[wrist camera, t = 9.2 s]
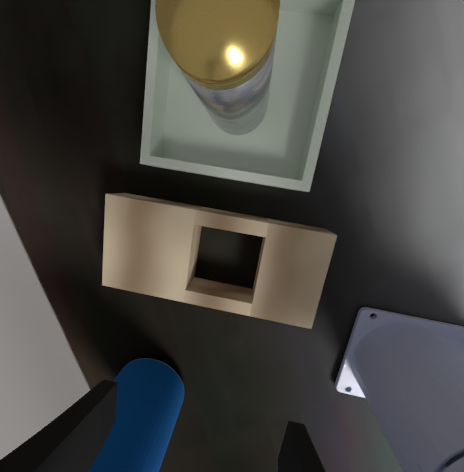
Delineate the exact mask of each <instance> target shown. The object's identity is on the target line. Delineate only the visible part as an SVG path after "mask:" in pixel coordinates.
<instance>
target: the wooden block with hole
mask: <svg viewBox="0 0 464 472" xmlns="http://www.w3.org/2000/svg"><path fill="white" fill-rule="evenodd" d="M201 226H206V227H211V228H217V229H222V230H227V231H233V232H238V233H244V234H249V235H255V236H260V237H263V241H262V246H261V251H260V256H259V260H258V265H257V270H256V275H255V280H254V285H253V289H251V288H246V287H241V286H236V285H231V284H226V283H221V282H216V281H211V280H206V279H201V278H196V277H195V269H196V262H197V255H198V248H199V240H200V233H201ZM336 239H337V235H336V234H334V233H332V232H331V231H329V230H327V229H325V228H319V227H314V226H308V225H303V224H297V223H291V222H286V221H280V220H274V219H269V218H263V217H258V216H252V215H246V214H241V213H235V212H229V211H224V210H218V209H213V208H207V207H201V206H196V205H190V204H185V203H179V202H173V201H168V200H162V199H156V198H151V197H145V196H140V195H134V194H128V193H113V194H105V219H104V246H103V273H102V285H103V286H108V287H113V288H118V289H123V290H127V291H132V292H137V293H142V294H146V295H151V296H156V297H161V298H166V299H170V300H175V301H180V302H185V303H189V304H194V305H199V306H204V307H209V308H213V309H218V310H223V311H228V312H233V313H237V314H242V315H247V316H252V317H256V318H261V319H266V320H271V321H276V322H280V323H285V324H290V325H295V326H299V327H304V328H309V329H312V325H313V321H314V318H315V314H316V311H317V307H318V303H319V300H320V296H321V293H322V289H323V285H324V282H325V278H326V275H327V271H328V267H329V264H330V260H331V257H332V253H333V249H334V246H335V242H336Z"/></svg>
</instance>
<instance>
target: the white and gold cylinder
mask: <svg viewBox="0 0 464 472" xmlns="http://www.w3.org/2000/svg"><path fill="white" fill-rule="evenodd" d="M279 9H280V0H155V13H156V22H157V26H158V30H159V34H160V37H161V39H162V41H163V43H164V46H165V47H166V49H167V51H168V52H169V54H170V55H171V57H172V58H173V60H174V61H175V63H176V64H177V66H178V68H179V69H180V71H181V72H182V74H183V75H184V77H185V78H186V80H187V81H188V83H189V84H190V86H191V87H192V89H193V90H194V92H195V93H196V95H197V96H198V98H199V99H200V101H201V103H202V104H203V106H204V107H205V109H206V110H207V112H208V113H209V115H210V116H211V118H212V119H213V121H214V122H215V124H216V125H217V126H218V127H219V128H220V129H221V130H222V131H224V132H226V133H228V134H231V135H244V134H247V133H249V132H251V131H253V130H254V129H256V128H257V127H258V126H259V125H260V123H261V122H262V120H263V119H264V117H265V114H266V111H267V106H268V98H269V90H270V82H271V74H272V66H273V58H274V50H275V42H276V34H277V26H278V18H279Z"/></svg>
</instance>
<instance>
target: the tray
mask: <svg viewBox="0 0 464 472" xmlns="http://www.w3.org/2000/svg"><path fill="white" fill-rule="evenodd" d="M354 3H355V0H280V9H279V18H278V26H277V34H276V42H275V50H274V58H273V66H272V74H271V82H270V90H269V98H268V106H267V111H266V114H265V117H264V119H263V120H262V122H261V123H260V125H259V126H258V127H257V128H256V129H254V130H253V131H251V132H249V133H247V134H244V135H231V134H228V133H226V132H224V131H222V130H221V129H220V128H219V127H218V126H217V125H216V124H215V122H214V121H213V119H212V118H211V116H210V115H209V113H208V112H207V110H206V109H205V107H204V106H203V104H202V103H201V101H200V99H199V98H198V96H197V95H196V93H195V92H194V90H193V89H192V87H191V86H190V84H189V83H188V81H187V80H186V78H185V77H184V75H183V74H182V72H181V71H180V69H179V68H178V66H177V64H176V63H175V61H174V60H173V58H172V57H171V55H170V54H169V52H168V51H167V49H166V47H165V46H164V43H163V41H162V39H161V37H160V34H159V30H158V26H157V22H156V13H155V0H151V11H150V26H149V40H148V54H147V69H146V83H145V98H144V112H143V127H142V141H141V155H140V164H144V165H149V166H153V167H159V168H165V169H171V170H176V171H182V172H188V173H194V174H200V175H206V176H212V177H218V178H224V179H230V180H236V181H242V182H248V183H254V184H260V185H266V186H272V187H278V188H284V189H290V190H296V191H301V192H310V188H311V184H312V180H313V175H314V171H315V167H316V163H317V159H318V154H319V150H320V146H321V142H322V138H323V133H324V129H325V125H326V121H327V117H328V112H329V108H330V104H331V100H332V96H333V91H334V87H335V83H336V79H337V75H338V70H339V66H340V62H341V58H342V54H343V49H344V45H345V41H346V37H347V33H348V28H349V24H350V20H351V16H352V12H353V7H354Z"/></svg>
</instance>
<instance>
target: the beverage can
mask: <svg viewBox="0 0 464 472" xmlns="http://www.w3.org/2000/svg"><path fill="white" fill-rule="evenodd" d="M113 382H117V383H118V387H117V403H116V420H115V423H114V425H113V427H112V429H111V431H110V433H109V435H108V437H107V439H106V441H105V443H104V445H103V447H102V449H101V451H100V453H99V454H98V456H97V458H96V459H95V461H94V463H93V464H92V466H91V468H90V469H89V471H88V472H159V469H160V467H161V464H162V461H163V458H164V455H165V452H166V449H167V446H168V443H169V441H170V438H171V435H172V432H173V429H174V426H175V423H176V420H177V417H178V414H179V412H180V409H181V406H182V403H183V400H184V386H183V383H182V380H181V379H180V377H179V375H178V374H177V373H176V372H175V371H174V370H173V369H172V368H171V367H170V366H169V365H167V364H166V363H164V362H162V361H159V360H155V359H150V358H141V359H136V360H133V361H131V362H129V363H128V364H126V365H125V366H124V367H123V369H122V370H121V371H120V373H119V374H118V375H117V377H116V378H115V379H114V381H113Z"/></svg>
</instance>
